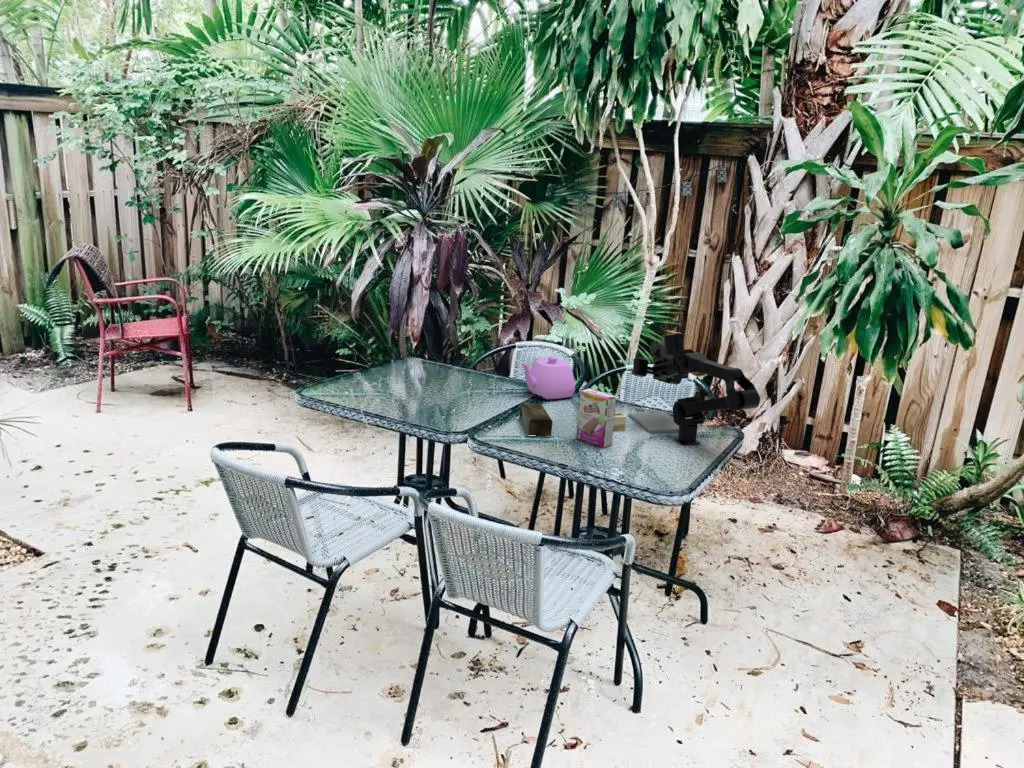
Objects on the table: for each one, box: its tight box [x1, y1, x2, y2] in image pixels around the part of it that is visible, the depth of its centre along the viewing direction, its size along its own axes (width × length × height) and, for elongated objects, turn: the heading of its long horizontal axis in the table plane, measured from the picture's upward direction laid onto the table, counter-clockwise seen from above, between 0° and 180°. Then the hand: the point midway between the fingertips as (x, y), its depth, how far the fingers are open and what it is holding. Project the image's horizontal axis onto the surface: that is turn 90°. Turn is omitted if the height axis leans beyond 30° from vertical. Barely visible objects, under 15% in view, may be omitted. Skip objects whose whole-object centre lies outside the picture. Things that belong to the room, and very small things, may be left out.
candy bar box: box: [575, 388, 617, 449], centre depth 239 cm, size 11×5×16 cm, turn 47°
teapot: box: [519, 355, 576, 400], centre depth 288 cm, size 23×21×15 cm
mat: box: [628, 411, 679, 434], centre depth 263 cm, size 18×14×1 cm
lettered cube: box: [613, 411, 627, 432], centre depth 255 cm, size 5×5×5 cm
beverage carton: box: [518, 401, 553, 437], centre depth 252 cm, size 8×19×7 cm, turn 9°
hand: (642, 374), depth 263 cm, fingers open, 9 cm apart
